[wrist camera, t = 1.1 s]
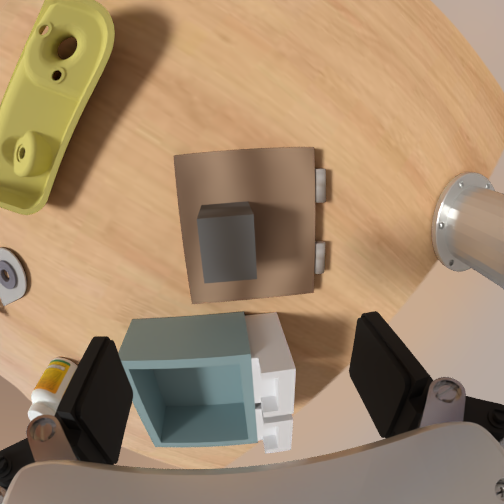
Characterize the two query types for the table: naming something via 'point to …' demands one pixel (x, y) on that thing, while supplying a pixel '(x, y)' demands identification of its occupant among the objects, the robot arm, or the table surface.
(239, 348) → the cabinet
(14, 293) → the bracket
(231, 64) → the table surface
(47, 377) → the supplement bottle
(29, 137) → the plastic component
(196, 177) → the door
